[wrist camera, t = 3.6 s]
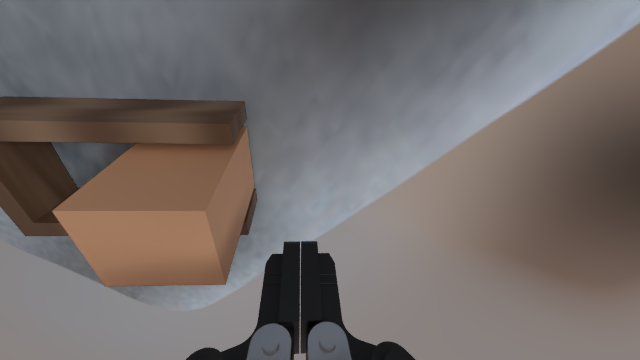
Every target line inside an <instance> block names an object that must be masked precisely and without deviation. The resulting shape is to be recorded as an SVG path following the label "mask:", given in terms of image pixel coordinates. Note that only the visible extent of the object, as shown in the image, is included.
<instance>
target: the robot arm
mask: <svg viewBox="0 0 640 360" xmlns="http://www.w3.org/2000/svg"><path fill="white" fill-rule="evenodd" d="M299 311H300V242H284V249H283V254H272V255H271V256H270V258H269V260H268V261H267V263H266V266H265V274H264V281H263V289H262V295H261V302H260V309H259V317H258V323H257V326H256V329H255V330H254V332H253V334H252V335H251V336H250V337H249V338H248V339H247V340H246V341H245V342H243V343H242V344H240V345H238V346H235V347H233V348H230V349H228V350H225V351H223V352H220V351H218V350H217V349H215V348H203V349H200V350H198V351H196V352H194V353H193V354H191V355H190V356H189V357H188V358H187V359H186V360H294V354H298V353H299V320H300V319H299V316H300V313H299ZM301 353H306V360H415V359H414V358H413V357H412V356H411V355H410V354H409V353H408V352H407V351H406V350H405V349H404V348H403V347H401V346H400V345H398V344H396V343H394V342H382V343H380V344H378V345H377V346H376V345H373V344H370V343H366V342H364V341H361V340H358V339H356V338H354V337H353V336H352V335H351V334H350V333H349V332H348V331H347V330H346V328H345V326H344V324H343V322H342V316H341V308H340V300H339V293H338V285H337V278H336V270H335V263H334V261H333V259H332V258H331V256H330V254H329V253H318V247H317V241H302V242H301Z"/></svg>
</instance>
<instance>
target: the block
mask: <svg viewBox="0 0 640 360" xmlns="http://www.w3.org/2000/svg"><path fill="white" fill-rule="evenodd" d="M254 186H255V184H254V177H253V169H252V161H251V153H250V146H249V138H248V130H247V127H242V129H241V130H240V132H239V134H238V136H237V138H236V140H235V142H234V143H233V144H179V143H136V144H135V145H133V146H132V147H131V148H130V149H128V150H127V151H126V152H125V153H124V154H122V155H121V156H120V157H119V158H117V159H116V160H115V161H114V162H112V163H111V164H110V165H109V166H107V167H106V168H105V169H104V170H102V171H101V172H100V173H99V174H97V175H96V176H95V177H94V178H92V179H91V180H90V181H89V182H87V183H86V184H85V185H84V186H82V187H81V188H80V189H79V190H77V191H76V192H75V193H74V194H72V195H71V196H70V197H69V198H68V199H66V200H65V201H64V202H63V203H61V204H60V205H59V206H58V207H56V208H55V209H54V210H53V211H52V212H53V213H54V215H55V216H56V218H57V219H58V220H59V222H60V223H61V225H62V226H63V228H64V229H65V230H66V232H67V233H68V235H69V236H70V237H71V239H72V240H73V242H74V243H75V245H76V246H77V247H78V249H79V250H80V252H81V253H82V254H83V256H84V257H85V259H86V260H87V262H88V263H89V264H90V266H91V267H92V269H93V270H94V271H95V273H96V274H97V276H98V277H99V279H100V280H101V281H102V283H103V284H104V286H165V285H226V281H227V278H228V275H229V271H230V268H231V264H232V261H233V257H234V254H235V251H236V247H237V244H238V240H239V237H240V234H241V230H242V227H243V223H244V220H245V216H246V213H247V210H248V206H249V203H250V199H251V196H252V192H253V189H254Z"/></svg>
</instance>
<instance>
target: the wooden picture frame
mask: <svg viewBox="0 0 640 360" xmlns="http://www.w3.org/2000/svg"><path fill="white" fill-rule="evenodd" d="M246 119H247V117H246V109H245V102H242V101H194V100H146V99H97V98H49V97H0V206H1V208H2V209H3V210H4V211H5V212H6V214H7V215H8V216H9V217H10V218H11V220H12V221H13V222H14V223H15V224H16V226H17V227H18V228H19V229H20V230H21V232H22V233H23V234H24V235H25V236H69V235H68V233H67V232H66V230H65V229H64V228H63V226H62V225H61V223H60V222H59V220H58V219H57V218H56V216H55V215H54V213H53V212H52V211H53V210H54V209H55V208H56V207H58V206H59V205H60V204H61V203H63V202H64V201H65V200H66V199H68V198H69V197H70V196H71V195H72V194H74V193H75V192H76V191H77V190H79V189H80V188H77V186H76V185H75V183H74V181H73V180H72V178H71V176H70V175H69V173H68V171H67V170H66V168H65V166H64V165H63V163H62V161H61V160H60V158H59V156H58V155H57V153H56V151H55V150H54V148H53V146H52V144H51V143H50V142H95V143H179V144H233V143H234V142H235V140H236V138H237V136H238V134H239V132H240V130H241V129H242V127H243V125H244V123H245V121H246ZM256 203H257V195H256V189H253V192H252V196H251V199H250V203H249V206H248V210H247V213H246V216H245V220H244V223H243V227H242V230H241V234H240V235H248V234H249V230H250V226H251V222H252V218H253V214H254V211H255V207H256Z"/></svg>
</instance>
